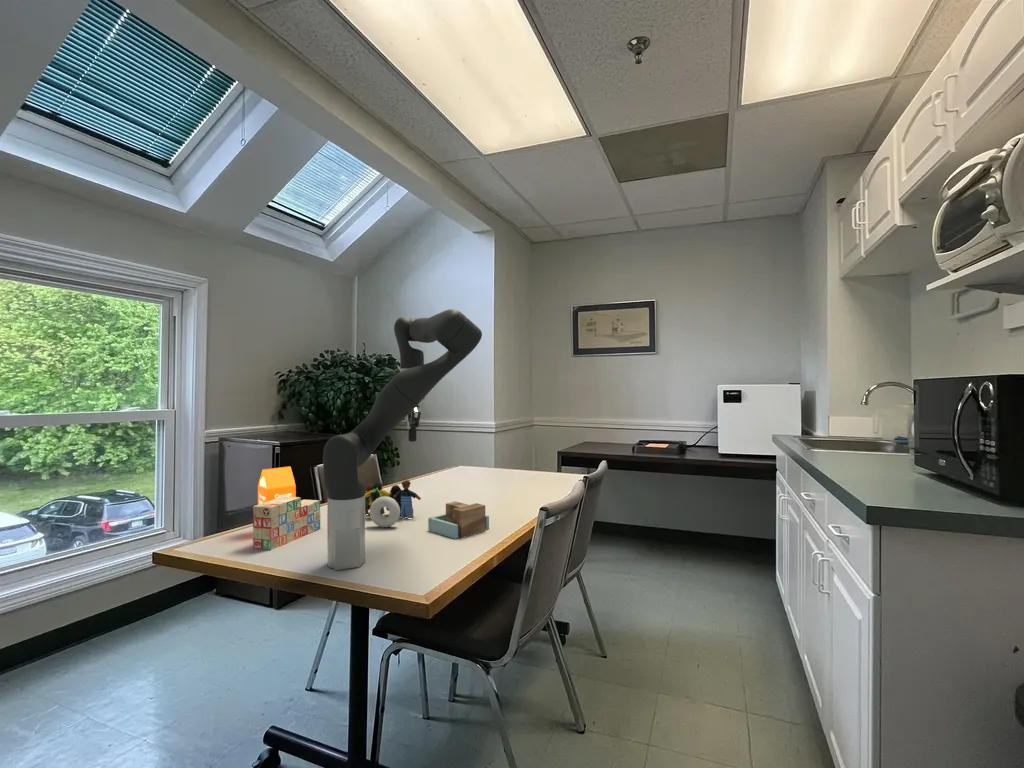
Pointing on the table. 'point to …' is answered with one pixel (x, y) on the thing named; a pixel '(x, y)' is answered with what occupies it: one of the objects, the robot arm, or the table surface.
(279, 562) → the table surface
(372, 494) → the doll family
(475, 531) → the tee block
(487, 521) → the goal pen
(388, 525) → the donut
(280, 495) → the orange juice
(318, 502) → the stack of blocks
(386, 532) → the table surface
